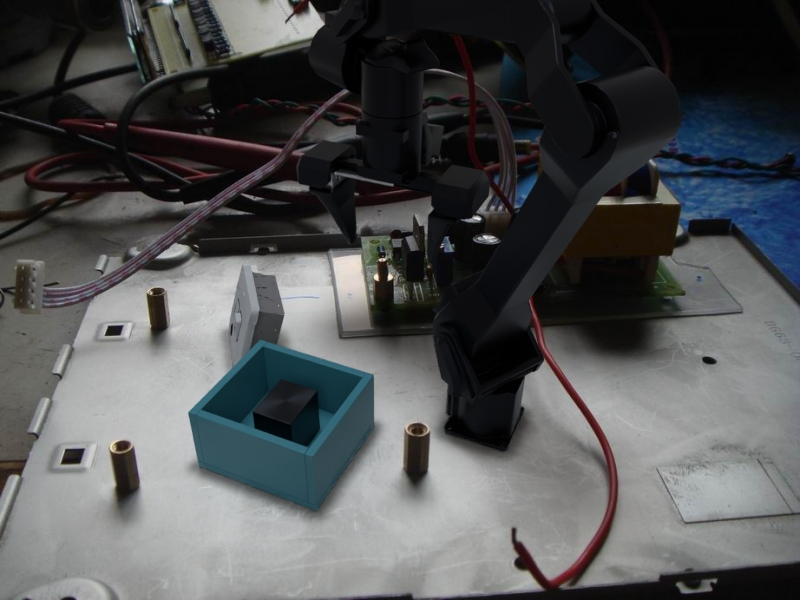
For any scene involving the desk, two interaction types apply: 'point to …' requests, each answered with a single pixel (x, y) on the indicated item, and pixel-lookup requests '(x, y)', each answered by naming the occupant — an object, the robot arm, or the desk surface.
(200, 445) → the bin
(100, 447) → the desk surface
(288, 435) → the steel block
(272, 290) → the electrical switch
